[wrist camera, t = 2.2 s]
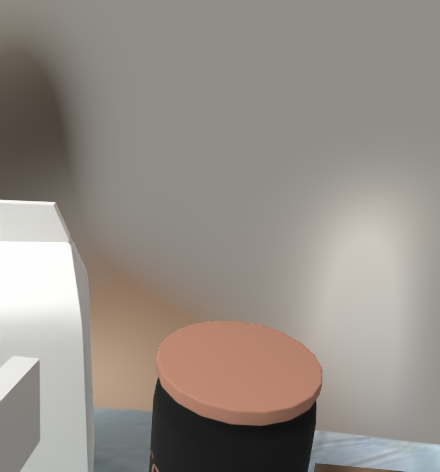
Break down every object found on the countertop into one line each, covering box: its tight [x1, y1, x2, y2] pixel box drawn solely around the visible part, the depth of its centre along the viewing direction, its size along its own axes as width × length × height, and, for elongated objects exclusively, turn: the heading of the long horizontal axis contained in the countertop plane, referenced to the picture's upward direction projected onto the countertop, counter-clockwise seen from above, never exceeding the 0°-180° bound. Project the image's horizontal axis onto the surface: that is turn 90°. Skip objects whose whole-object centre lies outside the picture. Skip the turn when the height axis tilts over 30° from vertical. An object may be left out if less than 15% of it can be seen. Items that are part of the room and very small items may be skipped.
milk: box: [0, 200, 95, 472], centre depth 29 cm, size 12×12×26 cm
